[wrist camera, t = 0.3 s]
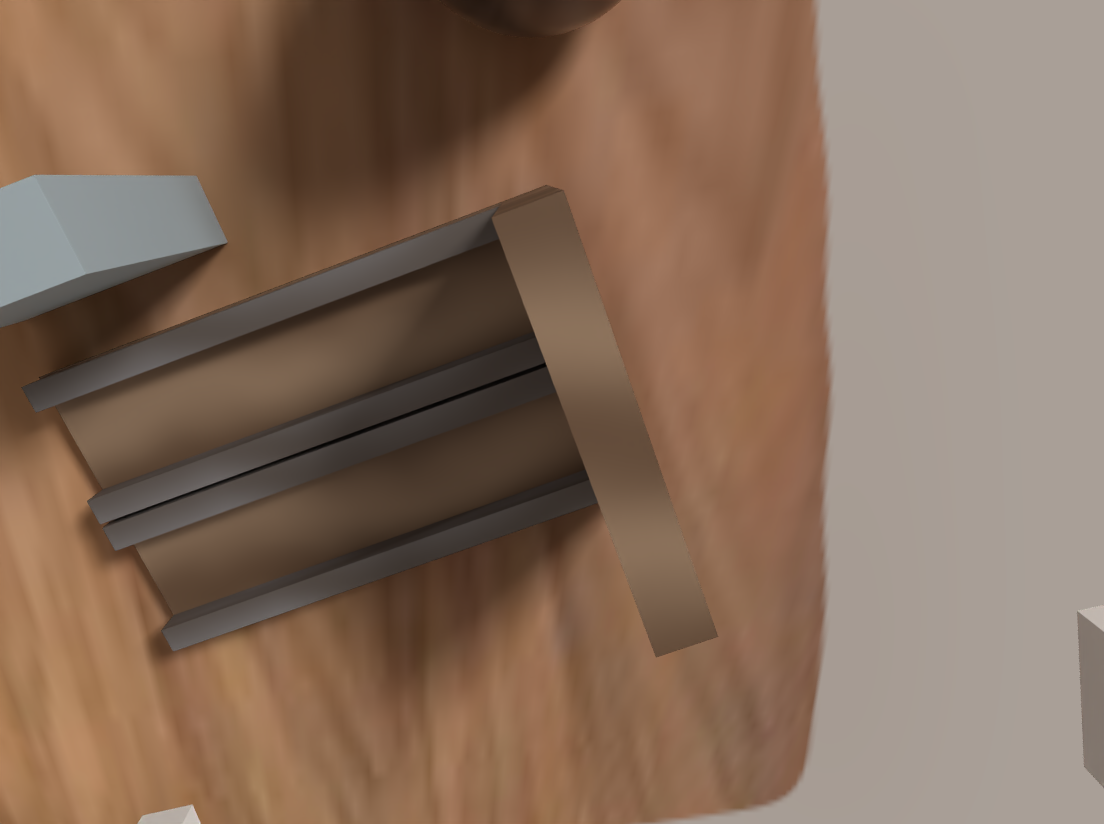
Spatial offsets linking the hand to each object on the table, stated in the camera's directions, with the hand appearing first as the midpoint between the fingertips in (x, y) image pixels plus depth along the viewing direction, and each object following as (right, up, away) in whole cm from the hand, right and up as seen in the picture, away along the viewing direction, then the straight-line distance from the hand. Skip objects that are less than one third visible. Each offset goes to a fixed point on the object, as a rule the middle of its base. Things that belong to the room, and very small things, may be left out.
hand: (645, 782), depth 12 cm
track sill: (-10, +5, +26) cm, 28 cm away
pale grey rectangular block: (-21, +13, +23) cm, 34 cm away
